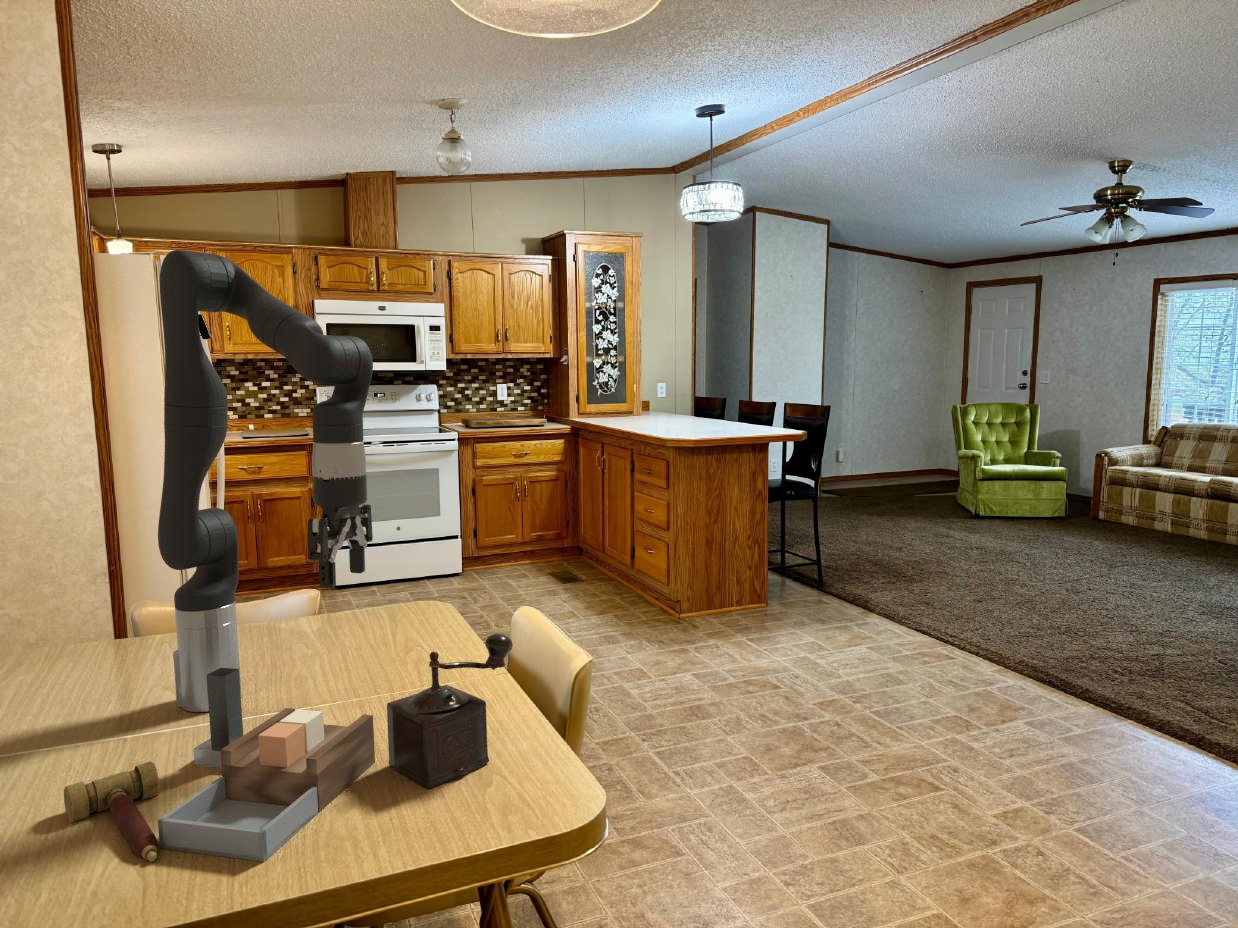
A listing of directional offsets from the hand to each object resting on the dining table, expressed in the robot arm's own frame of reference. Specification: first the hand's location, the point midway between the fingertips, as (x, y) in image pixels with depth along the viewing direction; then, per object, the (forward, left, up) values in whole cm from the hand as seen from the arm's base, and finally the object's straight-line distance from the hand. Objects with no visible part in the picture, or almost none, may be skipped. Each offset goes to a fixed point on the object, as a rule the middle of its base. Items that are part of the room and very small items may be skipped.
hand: (343, 579), depth 125 cm
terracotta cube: (0, -17, -20) cm, 26 cm away
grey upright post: (-14, -10, -25) cm, 30 cm away
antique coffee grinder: (+18, -3, -25) cm, 31 cm away
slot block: (0, -13, -25) cm, 28 cm away
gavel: (-14, -28, -26) cm, 40 cm away
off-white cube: (0, -13, -20) cm, 24 cm away
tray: (0, -26, -25) cm, 36 cm away
